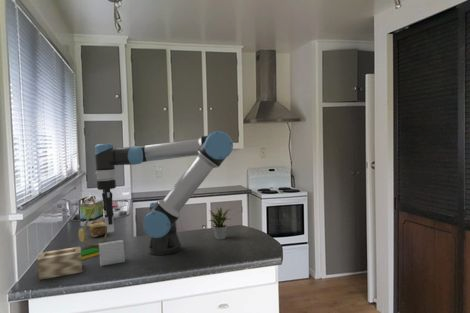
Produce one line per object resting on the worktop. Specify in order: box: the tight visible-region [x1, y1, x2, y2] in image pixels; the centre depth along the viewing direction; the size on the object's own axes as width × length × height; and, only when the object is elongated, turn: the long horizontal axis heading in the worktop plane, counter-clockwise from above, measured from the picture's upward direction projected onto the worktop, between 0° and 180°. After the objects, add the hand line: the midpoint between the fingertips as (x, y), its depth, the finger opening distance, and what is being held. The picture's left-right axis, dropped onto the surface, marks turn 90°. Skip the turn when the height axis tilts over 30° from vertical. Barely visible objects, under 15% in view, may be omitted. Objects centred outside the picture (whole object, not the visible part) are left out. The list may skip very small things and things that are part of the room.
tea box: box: [79, 199, 105, 227], centre depth 243 cm, size 15×10×15 cm, turn 179°
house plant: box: [208, 207, 232, 240], centre depth 187 cm, size 14×14×16 cm
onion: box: [89, 221, 107, 238], centre depth 208 cm, size 10×9×10 cm
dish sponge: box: [81, 247, 100, 261], centre depth 170 cm, size 7×14×2 cm, turn 142°
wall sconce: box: [78, 197, 108, 247], centre depth 187 cm, size 14×10×25 cm
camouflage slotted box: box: [37, 245, 83, 281], centre depth 150 cm, size 16×10×8 cm
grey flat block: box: [98, 239, 126, 267], centre depth 158 cm, size 10×3×9 cm, turn 113°
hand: (109, 228), depth 157 cm, fingers open, 13 cm apart
